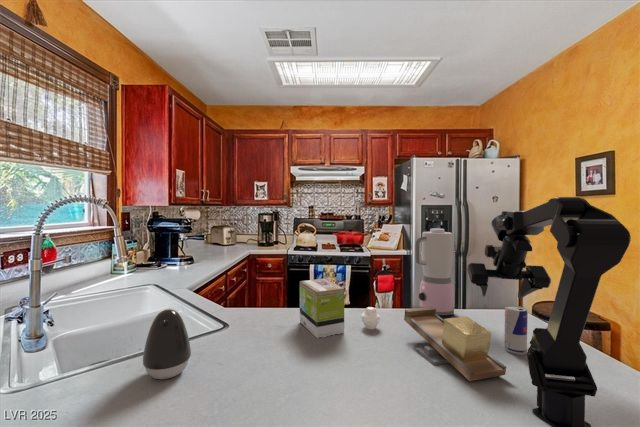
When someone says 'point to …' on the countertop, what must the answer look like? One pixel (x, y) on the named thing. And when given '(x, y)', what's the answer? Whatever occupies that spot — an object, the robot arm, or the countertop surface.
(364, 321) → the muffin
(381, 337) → the countertop surface
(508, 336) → the energy drink
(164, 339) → the dark grey egg shape
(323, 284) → the tea box
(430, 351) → the pivot stand
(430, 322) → the seesaw beam
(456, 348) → the tan boxy block
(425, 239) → the blender
